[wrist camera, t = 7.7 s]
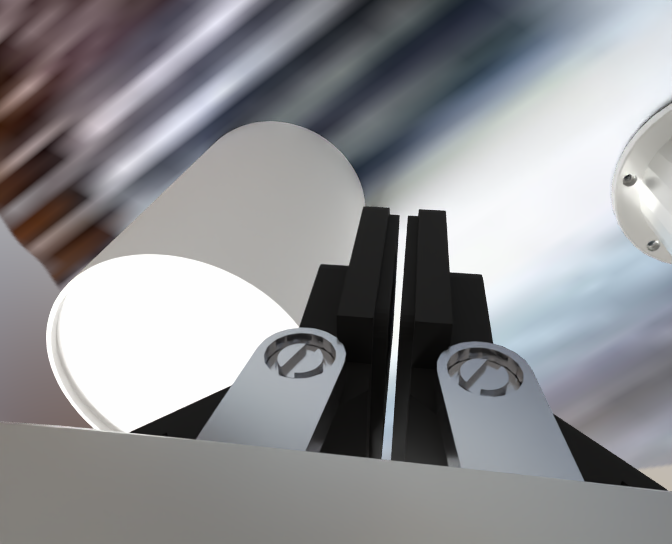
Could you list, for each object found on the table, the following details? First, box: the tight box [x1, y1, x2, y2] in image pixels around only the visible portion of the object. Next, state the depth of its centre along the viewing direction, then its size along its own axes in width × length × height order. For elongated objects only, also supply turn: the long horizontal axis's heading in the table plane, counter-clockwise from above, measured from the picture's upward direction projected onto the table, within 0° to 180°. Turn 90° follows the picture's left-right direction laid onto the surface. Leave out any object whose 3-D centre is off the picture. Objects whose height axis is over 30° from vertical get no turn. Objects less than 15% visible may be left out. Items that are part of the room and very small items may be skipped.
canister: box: [46, 121, 365, 433], centre depth 35 cm, size 14×14×20 cm
